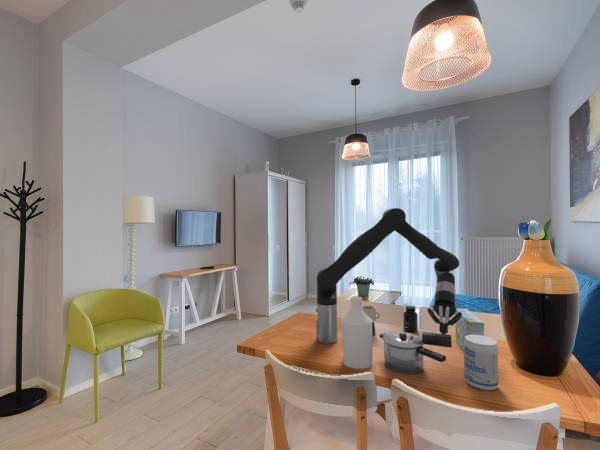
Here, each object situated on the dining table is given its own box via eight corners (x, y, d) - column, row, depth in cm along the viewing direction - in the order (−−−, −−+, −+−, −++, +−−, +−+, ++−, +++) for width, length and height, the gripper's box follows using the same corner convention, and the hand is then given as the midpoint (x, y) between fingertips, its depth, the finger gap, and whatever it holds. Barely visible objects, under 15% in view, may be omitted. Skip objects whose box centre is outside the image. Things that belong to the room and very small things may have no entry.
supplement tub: (461, 384, 96) (460, 339, 96) (467, 373, 103) (466, 332, 103) (496, 395, 89) (495, 347, 90) (500, 382, 97) (499, 338, 97)
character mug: (381, 332, 144) (381, 306, 145) (378, 337, 138) (377, 310, 139) (360, 329, 150) (360, 304, 150) (356, 333, 144) (355, 307, 144)
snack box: (485, 361, 112) (484, 322, 112) (469, 360, 113) (468, 321, 114) (468, 341, 133) (467, 308, 133) (454, 340, 134) (454, 307, 134)
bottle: (336, 358, 116) (335, 296, 117) (360, 353, 121) (359, 293, 122) (353, 371, 105) (352, 302, 106) (379, 365, 110) (378, 299, 111)
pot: (370, 359, 115) (369, 336, 115) (394, 351, 123) (393, 329, 123) (431, 390, 92) (430, 362, 93) (456, 378, 100) (455, 351, 100)
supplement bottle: (403, 331, 146) (402, 307, 146) (403, 327, 152) (403, 304, 152) (417, 333, 143) (417, 309, 143) (417, 329, 150) (417, 305, 150)
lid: (380, 345, 106) (380, 334, 106) (385, 332, 120) (385, 323, 120) (453, 355, 97) (453, 343, 97) (449, 339, 111) (449, 329, 111)
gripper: (427, 288, 123) (423, 325, 112) (462, 291, 116) (463, 331, 105) (428, 298, 127) (425, 335, 116) (463, 301, 120) (463, 341, 110)
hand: (443, 333), depth 111 cm, fingers closed
